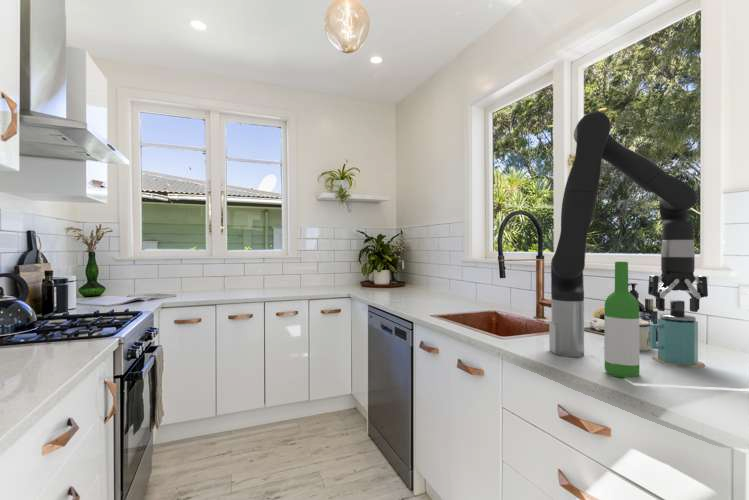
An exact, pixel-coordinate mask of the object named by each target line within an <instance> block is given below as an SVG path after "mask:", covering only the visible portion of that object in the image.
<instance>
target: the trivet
mask: <svg viewBox="0 0 749 500" xmlns="http://www.w3.org/2000/svg"><path fill="white" fill-rule="evenodd" d="M651 359H652V361H653V360H654V361H656V362H658V363H660V364H664V365H668V366H673V367H680V368H689V369H690V368H691V369H700V368H704V367H706V364H705V363H703V362H701V361H699V360H698V364H696V365H695V366H685V365H676V364H671V363H666V362H664V361H662V360H660V359H658V354H656V355H652V356H651Z"/></svg>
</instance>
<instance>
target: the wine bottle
mask: <svg viewBox="0 0 749 500" xmlns="http://www.w3.org/2000/svg"><path fill="white" fill-rule="evenodd" d="M603 316H604V324H603V325H604V336H603V337H604V343H603V344H604V345H603V346H604V347H603V348H604V349H603V350H604V351H603V352H604V356H603V357H604V370H605V372H606V373H607V374H609V375H610V376H614V377H617V378H620V379H627V378H637V377H639V376H640V364H641V363H640V358H641V357H640V351H641V350H640V349H639V318H640V305H639V301H638V299H637V298H636V297H635V295H633V294H632V293H630V291H629V262H628V261H615V262H614V291H613V292H612V293H610V294H609V295H608V296H607V297H606V298H605V301H604V315H603Z"/></svg>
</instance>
